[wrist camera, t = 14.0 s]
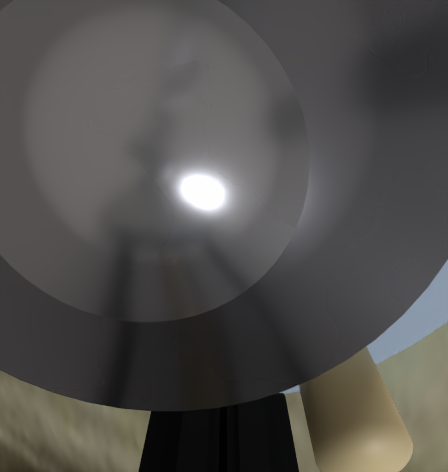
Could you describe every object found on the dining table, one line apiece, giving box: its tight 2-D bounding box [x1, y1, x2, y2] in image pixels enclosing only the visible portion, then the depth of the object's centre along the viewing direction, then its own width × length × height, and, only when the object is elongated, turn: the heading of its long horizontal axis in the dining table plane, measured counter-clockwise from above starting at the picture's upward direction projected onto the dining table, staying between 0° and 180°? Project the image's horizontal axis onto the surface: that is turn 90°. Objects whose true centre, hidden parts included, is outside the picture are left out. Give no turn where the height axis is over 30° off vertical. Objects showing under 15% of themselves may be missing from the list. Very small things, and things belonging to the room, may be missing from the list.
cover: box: [0, 0, 448, 411], centre depth 6 cm, size 6×6×6 cm
